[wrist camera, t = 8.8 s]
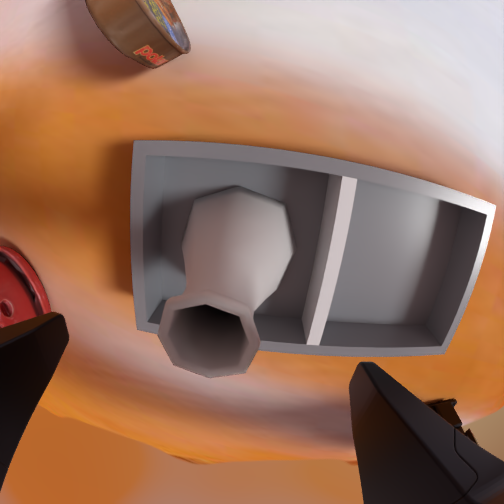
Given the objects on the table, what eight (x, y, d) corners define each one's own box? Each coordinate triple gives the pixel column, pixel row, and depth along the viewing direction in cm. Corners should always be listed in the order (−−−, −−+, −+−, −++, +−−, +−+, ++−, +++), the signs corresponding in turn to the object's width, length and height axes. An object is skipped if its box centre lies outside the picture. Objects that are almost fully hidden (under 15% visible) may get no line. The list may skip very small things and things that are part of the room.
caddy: (423, 327, 20) (444, 353, 16) (157, 301, 20) (136, 329, 16) (463, 195, 16) (496, 205, 12) (160, 143, 16) (133, 140, 13)
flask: (290, 298, 18) (306, 418, 9) (184, 290, 19) (125, 397, 9) (301, 189, 16) (349, 231, 7) (181, 183, 16) (85, 219, 7)
